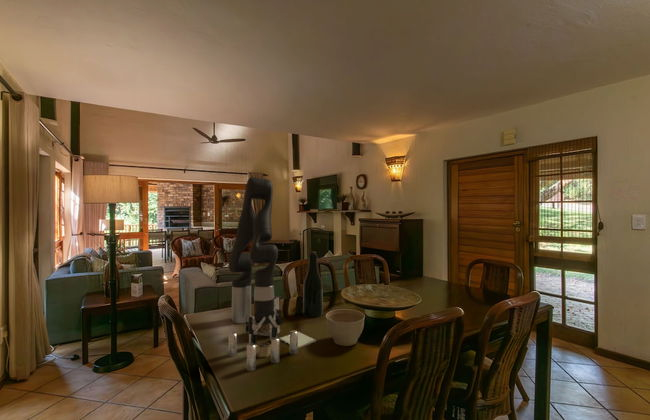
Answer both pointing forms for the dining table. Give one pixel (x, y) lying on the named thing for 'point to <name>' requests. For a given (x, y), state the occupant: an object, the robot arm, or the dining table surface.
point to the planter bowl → (345, 326)
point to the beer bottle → (312, 290)
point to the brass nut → (263, 349)
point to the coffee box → (265, 328)
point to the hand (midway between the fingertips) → (264, 340)
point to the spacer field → (252, 347)
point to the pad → (299, 340)
